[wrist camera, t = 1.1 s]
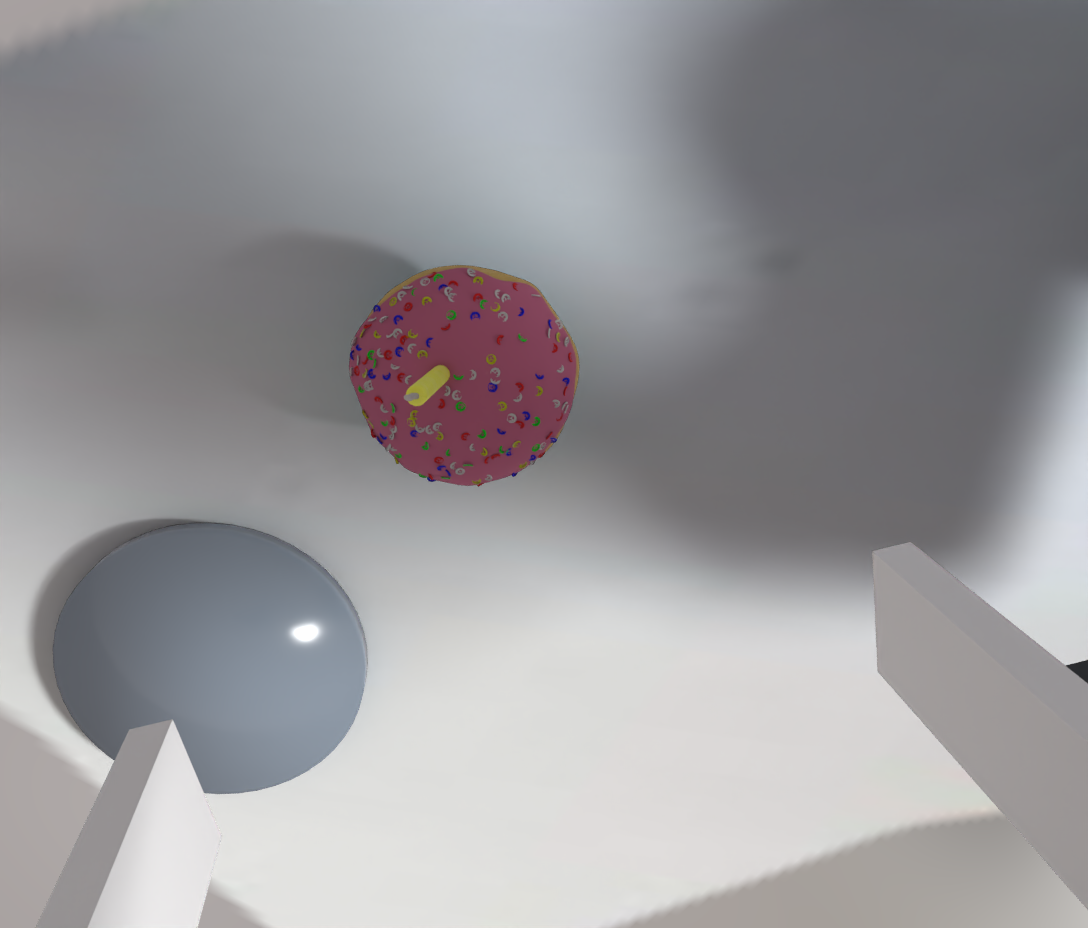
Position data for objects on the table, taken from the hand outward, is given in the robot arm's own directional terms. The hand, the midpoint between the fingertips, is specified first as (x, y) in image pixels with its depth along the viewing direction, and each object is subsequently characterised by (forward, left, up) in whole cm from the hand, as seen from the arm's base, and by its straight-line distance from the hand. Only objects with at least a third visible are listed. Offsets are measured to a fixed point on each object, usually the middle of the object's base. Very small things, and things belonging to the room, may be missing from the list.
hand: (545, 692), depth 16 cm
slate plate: (+15, +13, -23) cm, 30 cm away
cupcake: (+2, -1, -23) cm, 23 cm away
